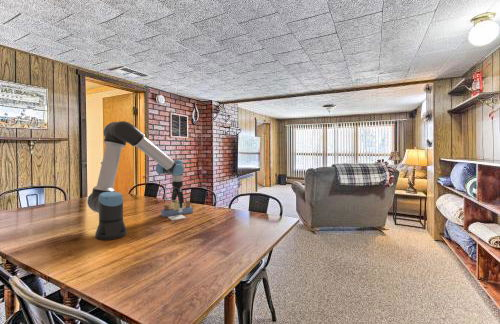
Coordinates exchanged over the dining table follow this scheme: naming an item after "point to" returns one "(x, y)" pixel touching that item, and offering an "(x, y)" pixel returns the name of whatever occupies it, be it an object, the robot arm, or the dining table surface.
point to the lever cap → (175, 205)
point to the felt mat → (176, 217)
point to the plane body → (175, 212)
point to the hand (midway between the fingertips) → (177, 210)
